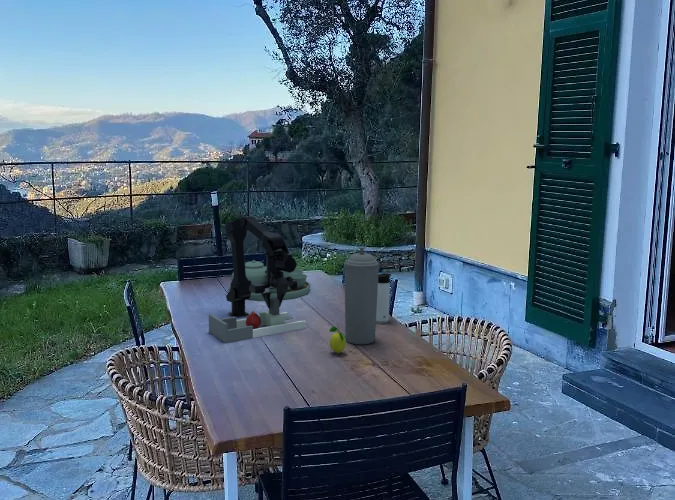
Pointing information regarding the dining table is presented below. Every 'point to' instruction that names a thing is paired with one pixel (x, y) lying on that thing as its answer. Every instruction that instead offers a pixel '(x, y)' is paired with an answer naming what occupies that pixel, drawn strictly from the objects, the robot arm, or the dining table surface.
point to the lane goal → (247, 328)
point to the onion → (253, 320)
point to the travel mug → (383, 298)
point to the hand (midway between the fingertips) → (274, 307)
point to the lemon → (337, 341)
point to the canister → (361, 297)
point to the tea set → (258, 275)
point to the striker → (273, 314)
